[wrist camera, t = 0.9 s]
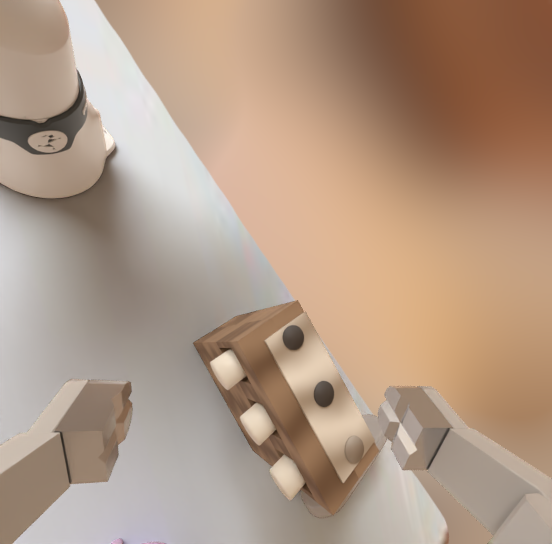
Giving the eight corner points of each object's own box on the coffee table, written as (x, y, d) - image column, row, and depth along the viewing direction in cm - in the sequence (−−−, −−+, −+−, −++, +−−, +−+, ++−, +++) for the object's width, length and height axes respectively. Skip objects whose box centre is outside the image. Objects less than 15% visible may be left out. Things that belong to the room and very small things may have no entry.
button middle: (236, 413, 32) (248, 420, 29) (262, 390, 34) (276, 395, 31) (251, 439, 32) (264, 449, 29) (276, 416, 34) (291, 422, 31)
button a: (207, 360, 32) (216, 362, 28) (235, 341, 34) (246, 341, 31) (222, 387, 32) (232, 392, 29) (249, 367, 34) (262, 369, 31)
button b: (265, 464, 32) (279, 477, 29) (289, 439, 34) (305, 448, 31) (279, 491, 32) (296, 506, 29) (303, 464, 34) (320, 476, 31)
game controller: (298, 503, 46) (330, 532, 39) (291, 492, 46) (322, 518, 39) (363, 419, 56) (397, 430, 49) (357, 410, 56) (391, 419, 49)
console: (192, 342, 44) (239, 341, 26) (236, 316, 48) (300, 299, 31) (252, 450, 44) (336, 518, 27) (290, 414, 49) (382, 452, 31)
